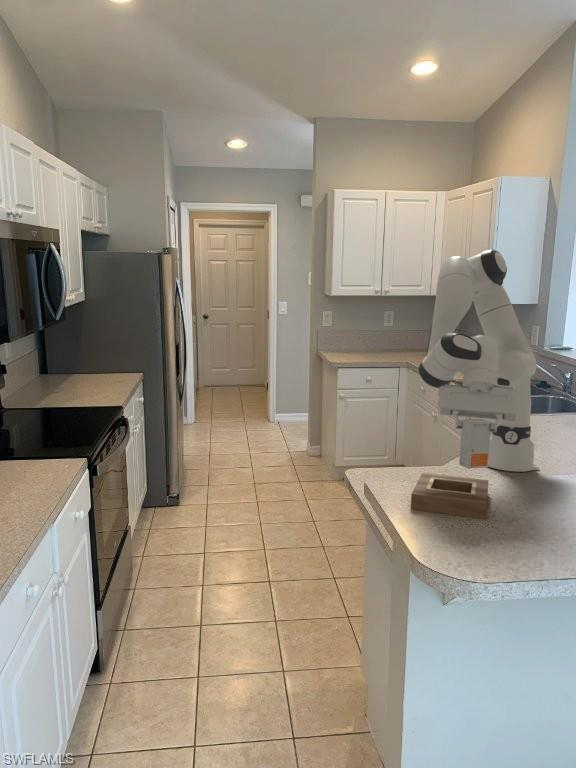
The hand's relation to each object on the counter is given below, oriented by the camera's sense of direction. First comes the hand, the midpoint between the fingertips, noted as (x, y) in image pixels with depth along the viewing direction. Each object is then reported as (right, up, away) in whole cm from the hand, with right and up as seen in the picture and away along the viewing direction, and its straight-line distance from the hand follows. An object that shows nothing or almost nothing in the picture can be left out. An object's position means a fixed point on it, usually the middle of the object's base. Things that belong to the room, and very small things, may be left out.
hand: (475, 429), depth 146 cm
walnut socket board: (-5, -20, +6) cm, 21 cm away
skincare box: (0, -10, +2) cm, 10 cm away
